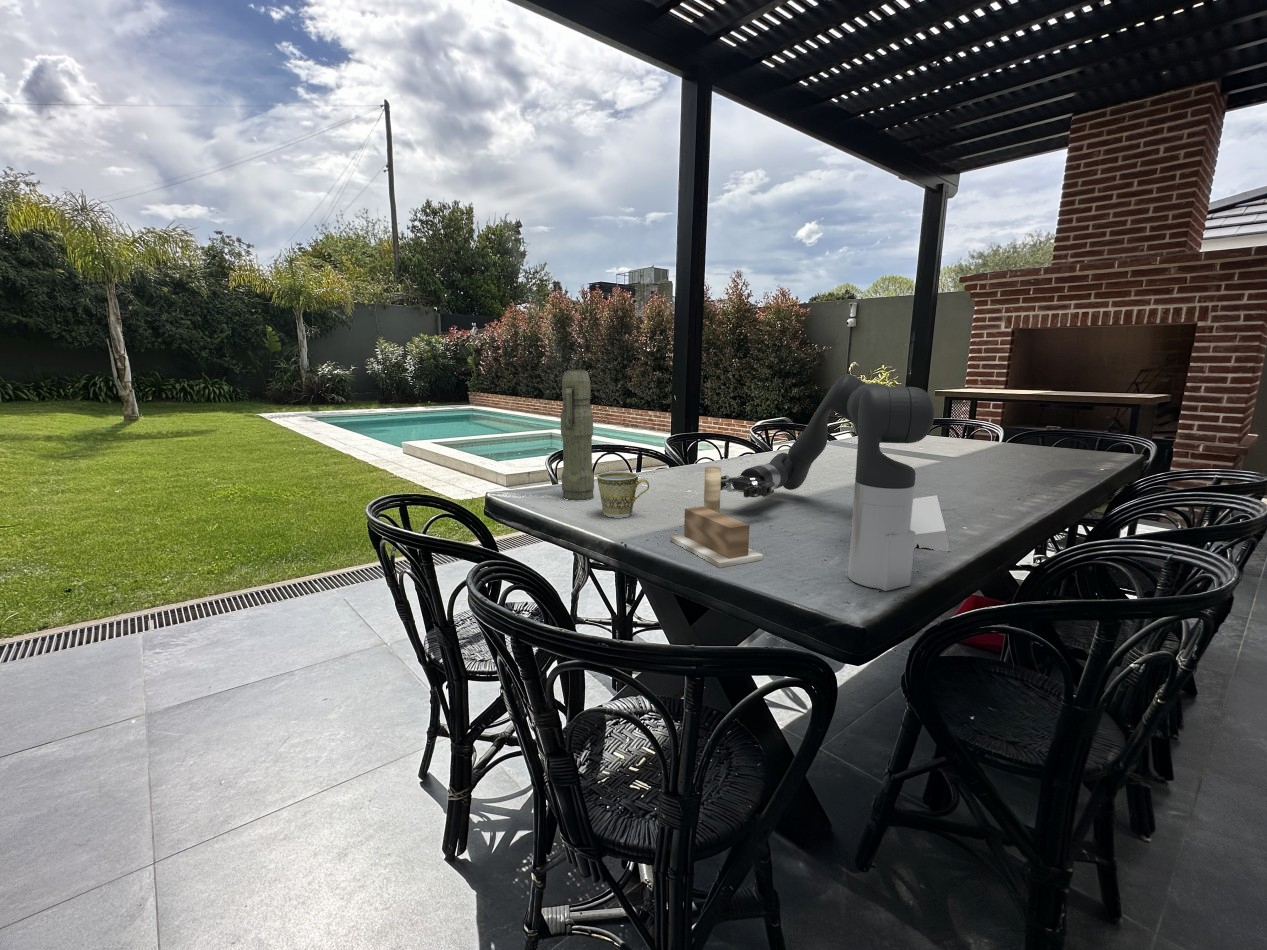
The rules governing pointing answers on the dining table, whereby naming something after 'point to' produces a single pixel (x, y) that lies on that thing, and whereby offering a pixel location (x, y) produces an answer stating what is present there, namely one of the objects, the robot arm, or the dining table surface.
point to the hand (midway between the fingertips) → (728, 490)
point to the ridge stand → (716, 538)
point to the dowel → (712, 488)
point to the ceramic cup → (618, 492)
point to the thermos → (577, 436)
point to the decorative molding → (928, 524)
